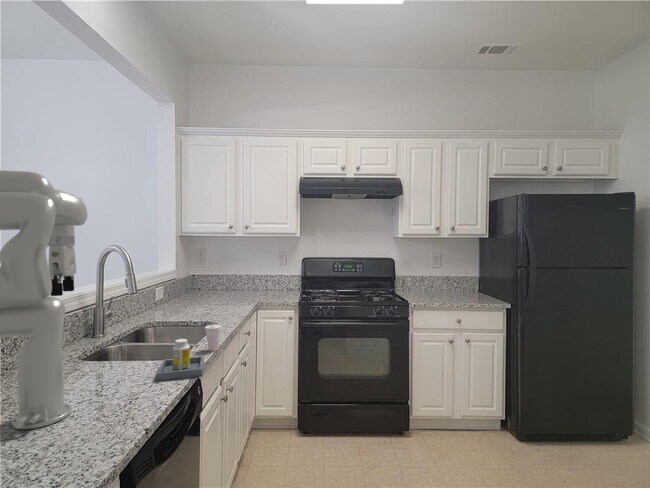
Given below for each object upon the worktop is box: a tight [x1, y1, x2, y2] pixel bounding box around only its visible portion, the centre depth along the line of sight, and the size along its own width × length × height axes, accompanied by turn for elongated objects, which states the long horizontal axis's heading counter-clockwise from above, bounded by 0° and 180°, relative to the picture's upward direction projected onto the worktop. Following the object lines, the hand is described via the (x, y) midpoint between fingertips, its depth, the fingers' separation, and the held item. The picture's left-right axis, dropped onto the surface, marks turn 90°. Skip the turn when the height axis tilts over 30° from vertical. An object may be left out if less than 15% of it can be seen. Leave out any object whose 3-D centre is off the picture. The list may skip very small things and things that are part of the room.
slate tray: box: [156, 355, 205, 382], centre depth 133 cm, size 14×14×2 cm
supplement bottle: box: [172, 338, 191, 371], centre depth 132 cm, size 6×6×10 cm
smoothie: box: [204, 315, 222, 352], centre depth 156 cm, size 6×6×14 cm
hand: (62, 293), depth 127 cm, fingers open, 9 cm apart
